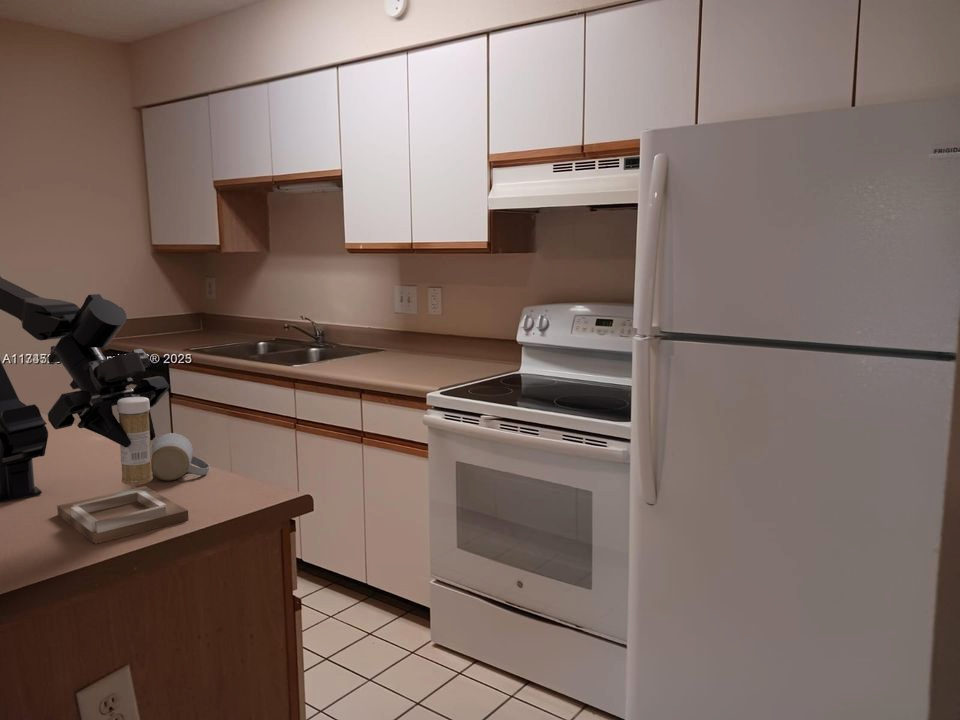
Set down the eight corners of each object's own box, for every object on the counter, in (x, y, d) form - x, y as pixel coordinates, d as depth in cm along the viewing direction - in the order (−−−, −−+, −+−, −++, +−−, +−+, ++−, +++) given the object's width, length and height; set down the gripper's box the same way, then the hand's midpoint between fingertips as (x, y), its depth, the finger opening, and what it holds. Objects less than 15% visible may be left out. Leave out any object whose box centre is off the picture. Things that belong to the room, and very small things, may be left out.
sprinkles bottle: (153, 475, 117) (150, 395, 115) (151, 484, 112) (148, 401, 110) (122, 478, 115) (118, 396, 113) (119, 487, 111) (115, 402, 109)
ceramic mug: (148, 484, 132) (147, 444, 131) (151, 471, 140) (150, 433, 139) (209, 479, 136) (208, 440, 135) (209, 467, 144) (208, 430, 143)
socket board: (57, 514, 117) (56, 496, 116) (145, 494, 127) (144, 478, 126) (95, 544, 105) (93, 524, 105) (188, 519, 115) (187, 501, 115)
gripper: (56, 340, 103) (115, 423, 101) (159, 328, 120) (212, 400, 118) (23, 387, 107) (78, 469, 105) (127, 370, 124) (177, 440, 122)
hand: (141, 442), depth 112 cm, fingers closed on sprinkles bottle, 4 cm apart
